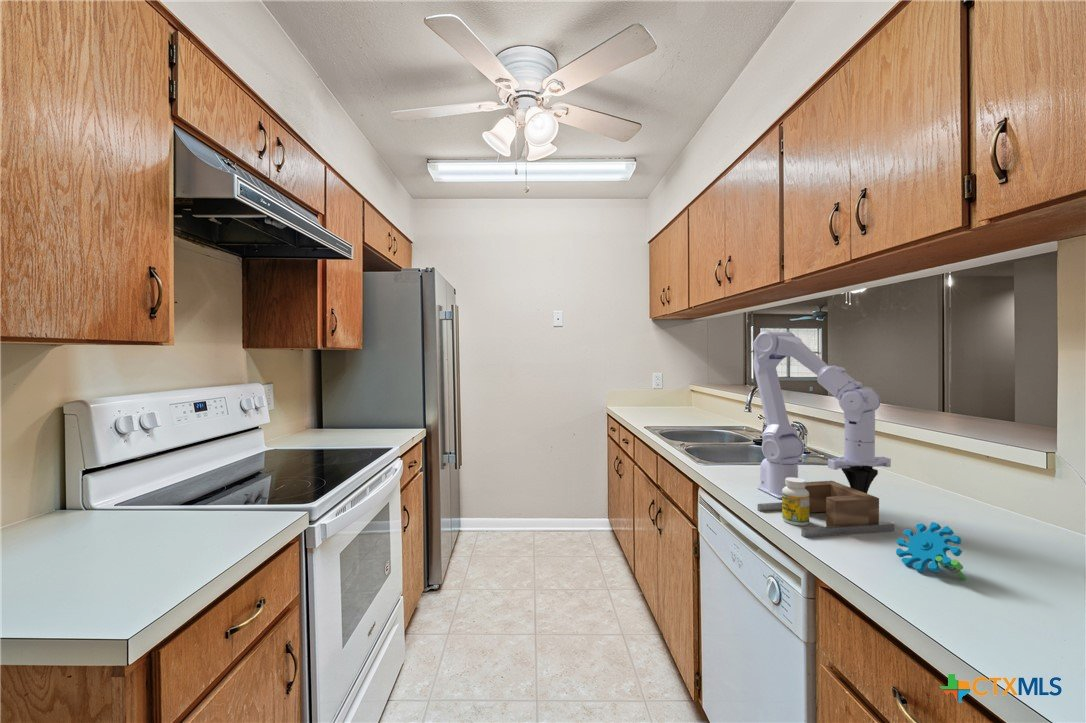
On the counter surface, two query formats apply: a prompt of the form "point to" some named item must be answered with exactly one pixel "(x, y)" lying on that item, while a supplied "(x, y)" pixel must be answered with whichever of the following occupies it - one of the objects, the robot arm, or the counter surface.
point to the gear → (931, 549)
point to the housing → (842, 503)
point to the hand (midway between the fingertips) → (859, 498)
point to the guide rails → (833, 529)
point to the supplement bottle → (795, 502)
